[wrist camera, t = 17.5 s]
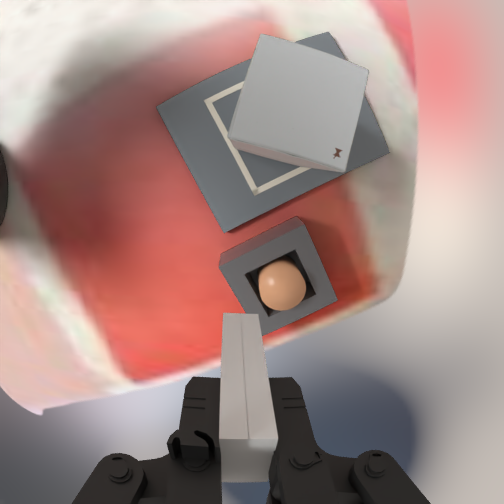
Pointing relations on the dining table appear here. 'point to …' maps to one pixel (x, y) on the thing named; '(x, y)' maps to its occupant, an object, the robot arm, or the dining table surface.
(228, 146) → the slate board
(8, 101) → the dining table surface
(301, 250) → the button housing
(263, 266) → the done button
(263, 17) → the dining table surface
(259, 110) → the supplement box
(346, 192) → the dining table surface
